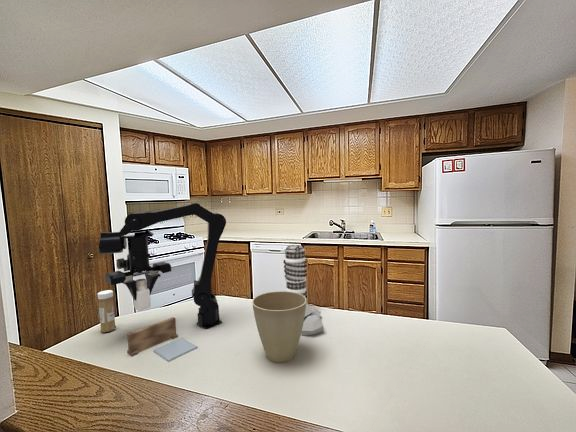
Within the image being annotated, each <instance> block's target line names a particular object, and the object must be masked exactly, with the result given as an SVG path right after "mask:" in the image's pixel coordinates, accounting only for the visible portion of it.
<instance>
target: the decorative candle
mask: <svg viewBox="0 0 576 432" xmlns="http://www.w3.org/2000/svg"><path fill="white" fill-rule="evenodd" d="M305 251H306V249H305V248H304V247H303V245H300V244H290V245H287V247H286V248H285V249H284V252H285V257H284V259H283V264H284V265H283V268H284V273H285V274H284V278H285V279H284V281H285V282H286V287H285V291H287V292H295V293H299V294H301V295H303V296H304V297H305V298H306V300H307V301H308V299H307V298H308V291H307V284H306V281H308V280H307V276H308V274H307V272H308V270H307V269H306V268H307V267H308V264H307V263H308V260H306V252H305Z"/></svg>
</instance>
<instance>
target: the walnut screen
mask: <svg viewBox="0 0 576 432" xmlns="http://www.w3.org/2000/svg"><path fill="white" fill-rule="evenodd" d="M176 322H177V320H176V317H170V318H168V319H165V320H162V321H158V322H155V323H153V324H151V325H148V326H145V327H141V328H140V329H137V330H134V331H131V332H128V333H127V334H126V338H127V350H126V353H127V354H128V355H129V356H131V357H134V356H137V355H139V352H142V351H144V350H148V349H150V348H152V347H155V346H157V345H159V344H161V343H163V342H166V341H168V340H169V341H170V340H174V339H175V340H176V338H177V339H178V337H179V335H178V334H177V323H176Z"/></svg>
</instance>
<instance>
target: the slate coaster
mask: <svg viewBox="0 0 576 432" xmlns="http://www.w3.org/2000/svg"><path fill="white" fill-rule="evenodd" d="M197 349H198V346H197V345H196V344H195V343H193V342H191V341H189V340H187V339H185V338H183V337H179V338H177V339H175V340H173V341H170V342H167V343H165V344H164V345H161V346H159V347H156V348H154V349H153V350H152V351H153V353H155V355H157V356H159V357H160V358H162V359H163V360H165V361H166V362H168V363H170V362H172V361H174V360H176V359H178V358H180V357H182V356H184V355H186V354H188V353H191V352H192V351H194V350H197Z"/></svg>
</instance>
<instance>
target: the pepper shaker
mask: <svg viewBox="0 0 576 432" xmlns="http://www.w3.org/2000/svg"><path fill="white" fill-rule="evenodd" d="M135 281H136V291H137V297H136V300H134V299H133V307H134V309H135V310H137V311H140V312H141V311H143V310H146V309H150V308H151V294H150V290H149V289H148V288H146V278H138V279H136V280H135Z"/></svg>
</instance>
